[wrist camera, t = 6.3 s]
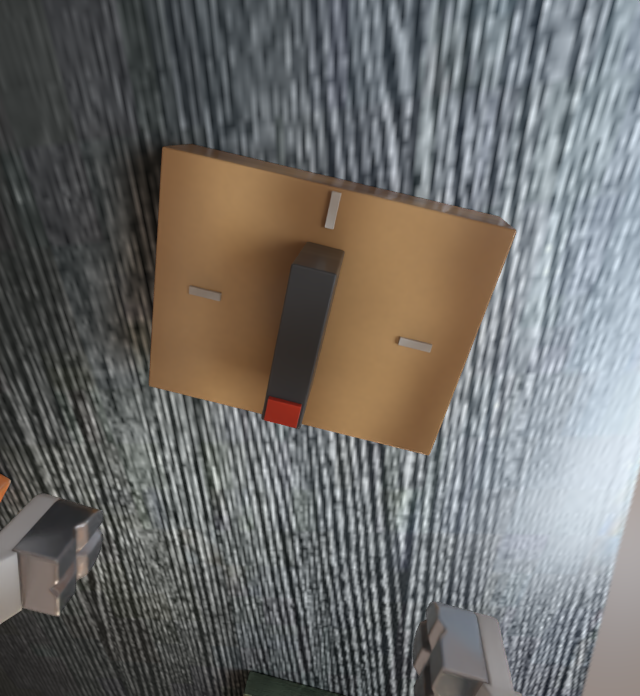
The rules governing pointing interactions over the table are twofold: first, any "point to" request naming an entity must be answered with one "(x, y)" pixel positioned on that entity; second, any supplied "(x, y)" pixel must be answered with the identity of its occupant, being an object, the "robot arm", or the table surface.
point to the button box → (279, 687)
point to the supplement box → (3, 485)
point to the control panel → (349, 300)
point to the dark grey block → (301, 332)
